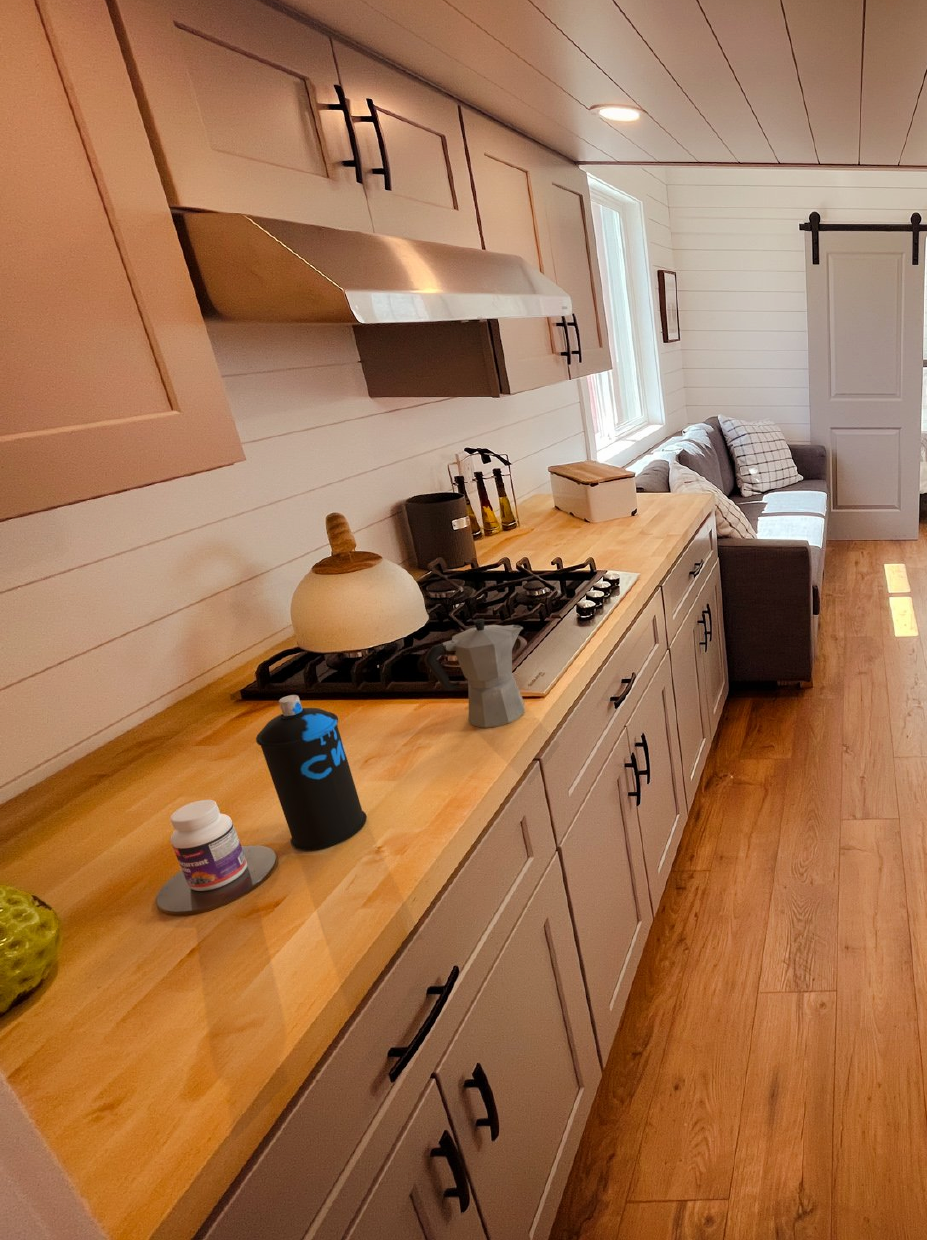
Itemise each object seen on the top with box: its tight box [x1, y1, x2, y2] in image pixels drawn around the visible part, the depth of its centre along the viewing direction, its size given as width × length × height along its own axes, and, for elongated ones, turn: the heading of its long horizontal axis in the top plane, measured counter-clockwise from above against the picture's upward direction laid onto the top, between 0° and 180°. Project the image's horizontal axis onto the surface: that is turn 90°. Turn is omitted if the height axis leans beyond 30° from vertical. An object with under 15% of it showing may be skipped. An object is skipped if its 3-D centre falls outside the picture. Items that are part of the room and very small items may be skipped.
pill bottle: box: [170, 799, 247, 891], centre depth 84 cm, size 5×5×10 cm
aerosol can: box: [255, 694, 368, 851], centre depth 91 cm, size 8×8×20 cm
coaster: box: [155, 844, 279, 917], centre depth 85 cm, size 11×11×1 cm
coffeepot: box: [424, 618, 526, 729], centre depth 118 cm, size 15×9×18 cm, turn 139°
